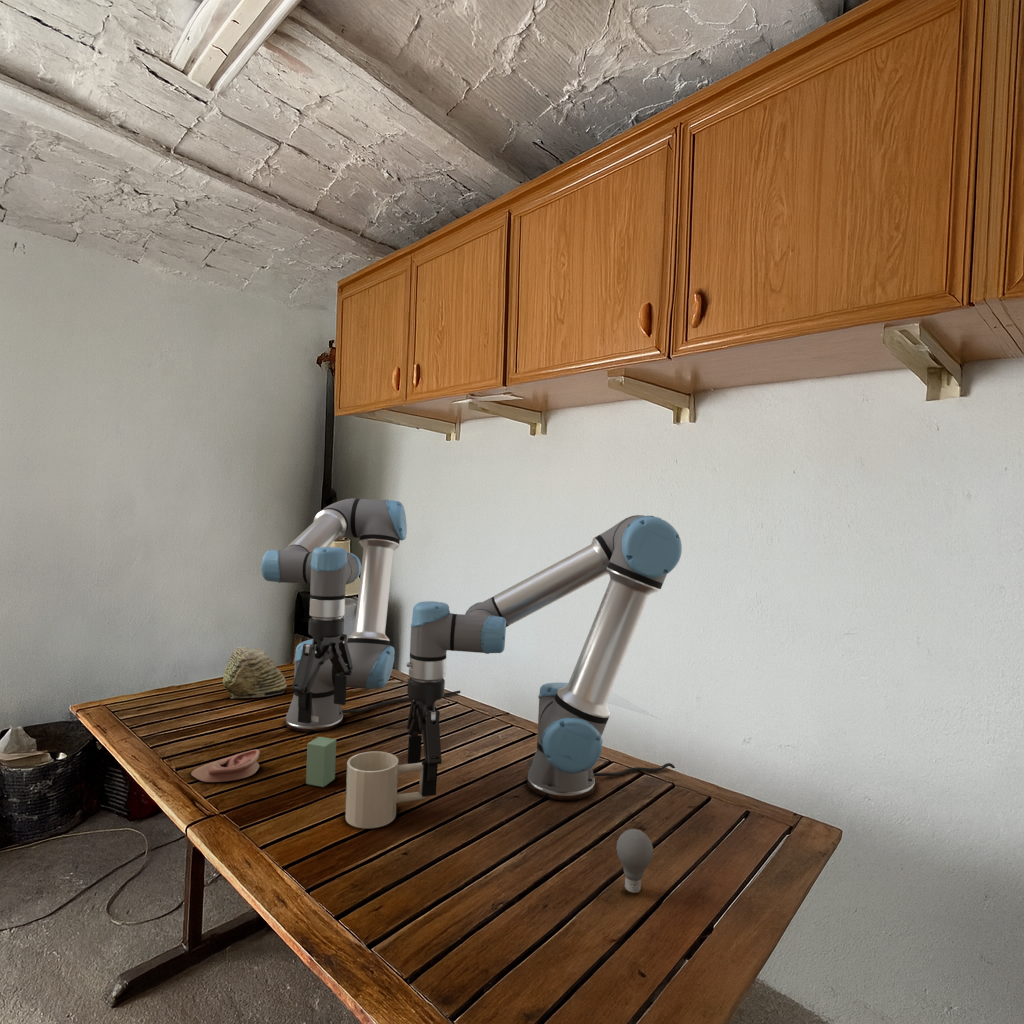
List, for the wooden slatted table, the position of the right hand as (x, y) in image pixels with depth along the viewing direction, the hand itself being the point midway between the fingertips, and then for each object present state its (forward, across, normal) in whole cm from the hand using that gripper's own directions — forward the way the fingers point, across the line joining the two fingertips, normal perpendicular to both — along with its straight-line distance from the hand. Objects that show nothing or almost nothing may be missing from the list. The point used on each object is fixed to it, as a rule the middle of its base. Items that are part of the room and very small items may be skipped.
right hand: (420, 780), depth 130 cm
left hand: (-9, -18, -18) cm, 27 cm away
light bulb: (+5, +38, +28) cm, 47 cm away
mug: (+6, 0, -7) cm, 9 cm away
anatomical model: (+7, -28, -38) cm, 48 cm away
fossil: (+7, -85, -33) cm, 92 cm away
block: (+6, -18, -18) cm, 26 cm away
